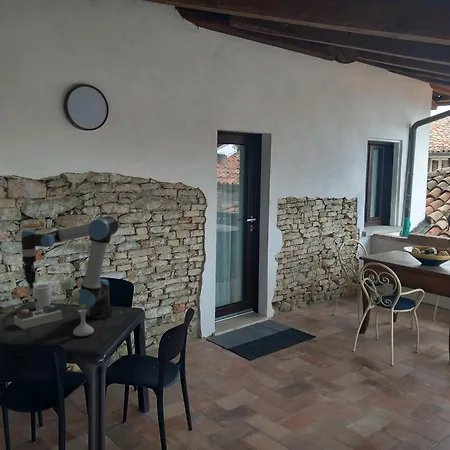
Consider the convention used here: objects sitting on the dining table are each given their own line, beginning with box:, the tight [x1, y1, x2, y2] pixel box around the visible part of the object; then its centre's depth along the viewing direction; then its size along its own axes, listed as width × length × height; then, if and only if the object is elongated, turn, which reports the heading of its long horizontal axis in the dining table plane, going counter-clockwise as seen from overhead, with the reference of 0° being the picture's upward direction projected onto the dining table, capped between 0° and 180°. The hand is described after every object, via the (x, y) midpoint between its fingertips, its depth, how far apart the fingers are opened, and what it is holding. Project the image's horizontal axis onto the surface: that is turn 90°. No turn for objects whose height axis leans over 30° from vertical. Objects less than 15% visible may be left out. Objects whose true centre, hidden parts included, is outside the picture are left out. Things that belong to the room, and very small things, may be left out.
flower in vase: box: [68, 291, 95, 337], centre depth 262 cm, size 13×11×25 cm
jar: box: [33, 284, 52, 310], centre depth 310 cm, size 11×10×15 cm
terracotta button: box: [20, 308, 30, 315], centre depth 279 cm, size 4×4×2 cm
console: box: [13, 304, 63, 330], centre depth 285 cm, size 12×24×8 cm, turn 136°
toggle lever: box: [33, 298, 39, 312], centre depth 285 cm, size 2×2×8 cm
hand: (30, 293), depth 289 cm, fingers closed
